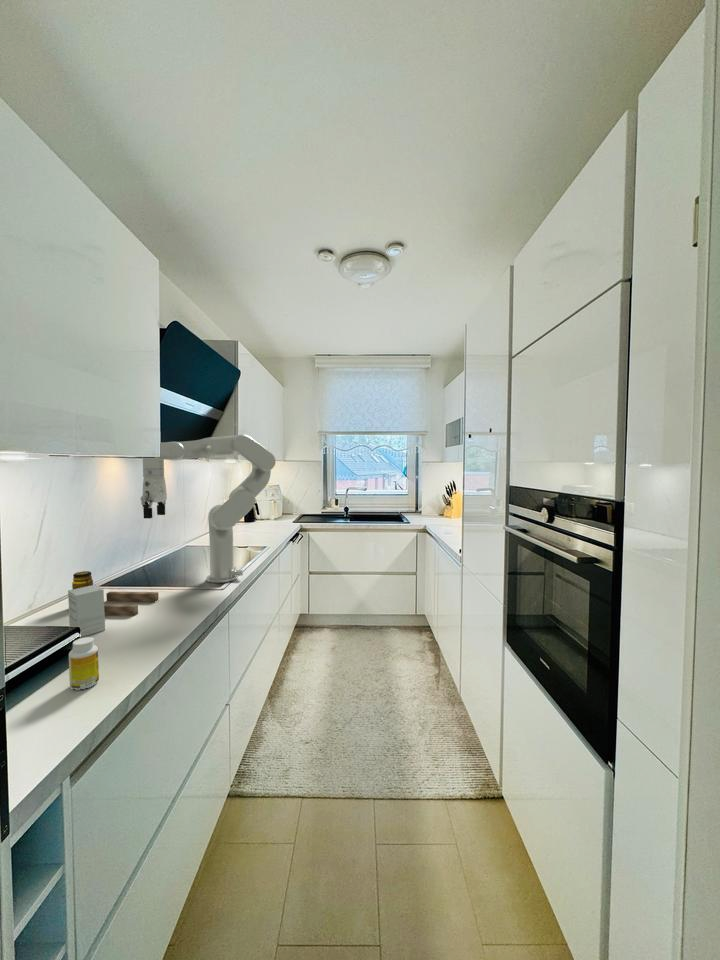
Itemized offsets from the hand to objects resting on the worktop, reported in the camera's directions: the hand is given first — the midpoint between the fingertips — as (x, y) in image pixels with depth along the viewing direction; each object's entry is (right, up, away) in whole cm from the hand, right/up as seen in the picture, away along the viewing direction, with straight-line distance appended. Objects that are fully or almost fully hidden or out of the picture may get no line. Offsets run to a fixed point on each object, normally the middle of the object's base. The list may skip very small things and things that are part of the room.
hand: (154, 516), depth 167 cm
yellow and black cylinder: (-14, -30, -20) cm, 39 cm away
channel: (-1, -30, -21) cm, 36 cm away
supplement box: (0, -31, -41) cm, 52 cm away
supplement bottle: (+19, -32, -71) cm, 80 cm away
